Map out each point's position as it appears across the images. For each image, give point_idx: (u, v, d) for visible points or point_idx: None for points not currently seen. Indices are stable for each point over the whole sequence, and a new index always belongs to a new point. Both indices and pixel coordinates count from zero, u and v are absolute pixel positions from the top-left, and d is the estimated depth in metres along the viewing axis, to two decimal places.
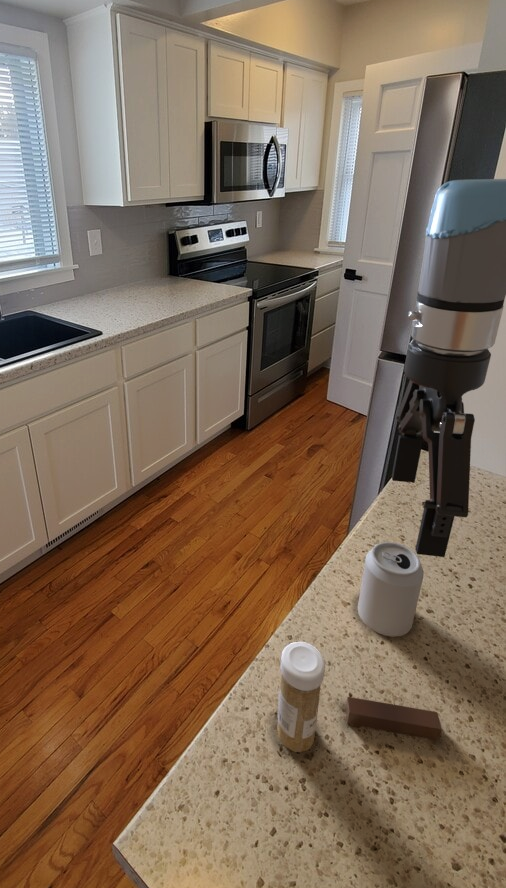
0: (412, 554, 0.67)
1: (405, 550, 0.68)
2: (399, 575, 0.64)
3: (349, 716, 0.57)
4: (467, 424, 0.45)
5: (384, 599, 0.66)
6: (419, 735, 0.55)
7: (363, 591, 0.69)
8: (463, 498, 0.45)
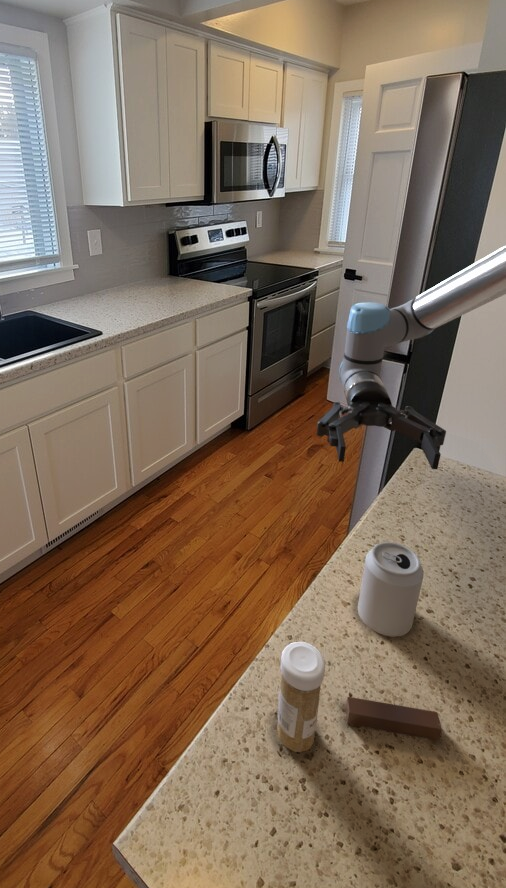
0: (412, 554, 0.67)
1: (405, 550, 0.68)
2: (399, 575, 0.64)
3: (349, 716, 0.57)
4: (333, 405, 0.89)
5: (384, 599, 0.66)
6: (419, 735, 0.55)
7: (363, 591, 0.69)
8: None
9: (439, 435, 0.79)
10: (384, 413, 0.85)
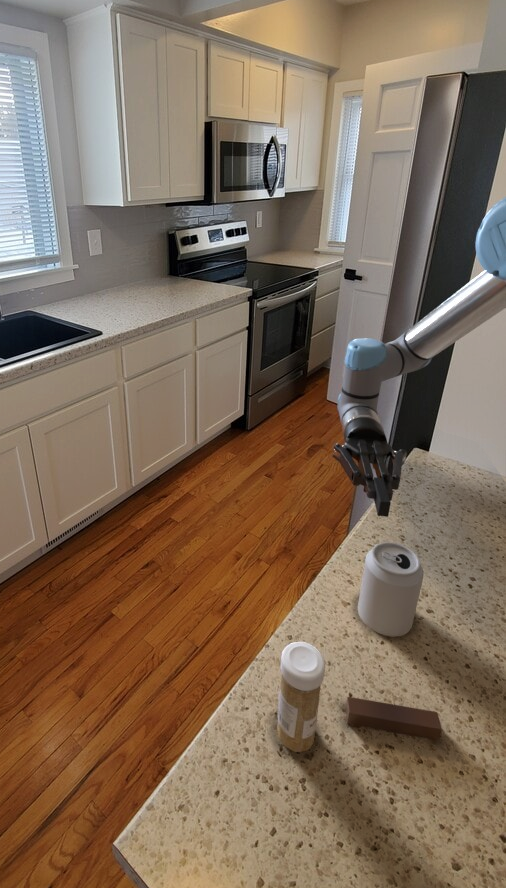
0: (412, 554, 0.67)
1: (405, 550, 0.68)
2: (399, 575, 0.64)
3: (349, 716, 0.57)
4: (335, 449, 0.89)
5: (384, 599, 0.66)
6: (419, 735, 0.55)
7: (363, 591, 0.69)
8: (351, 470, 0.83)
9: (393, 480, 0.80)
10: None
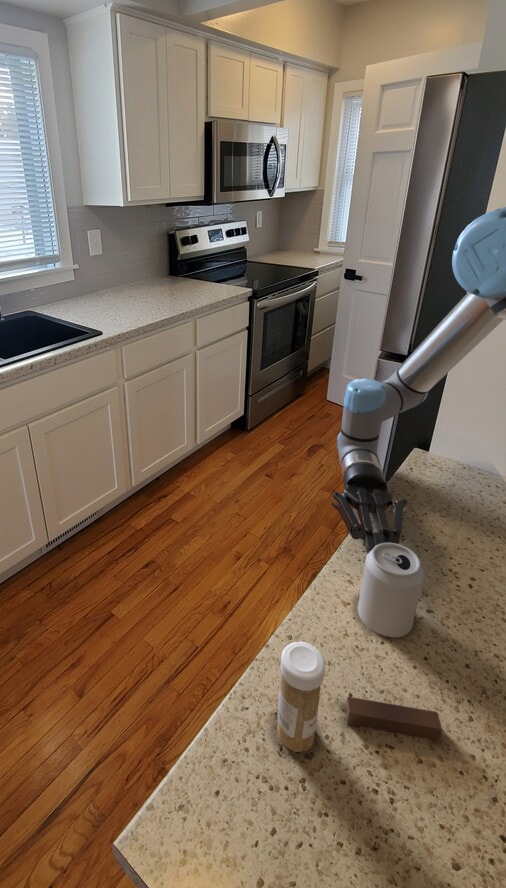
0: (412, 555, 0.67)
1: (405, 551, 0.68)
2: (399, 575, 0.64)
3: (349, 716, 0.57)
4: (334, 497, 0.87)
5: (384, 600, 0.65)
6: (419, 735, 0.55)
7: (363, 592, 0.69)
8: (350, 522, 0.81)
9: (394, 535, 0.78)
10: None
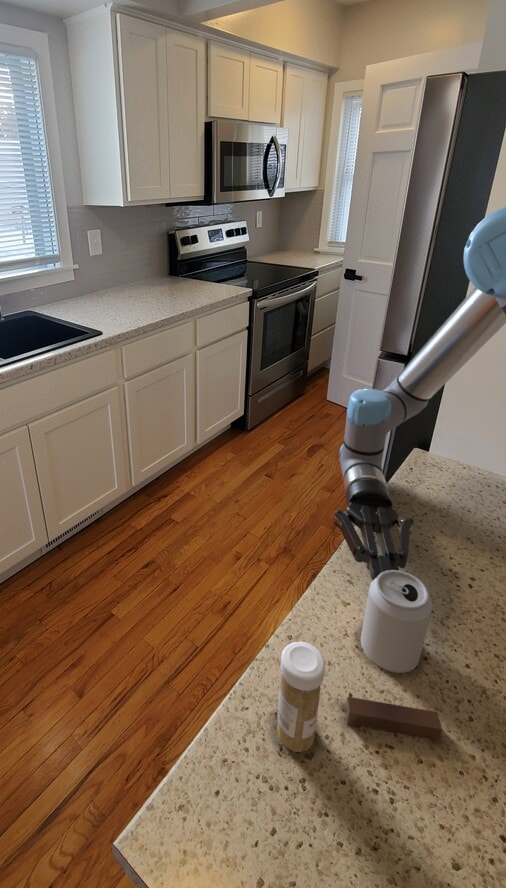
0: (420, 585, 0.62)
1: (413, 580, 0.63)
2: (405, 608, 0.59)
3: (349, 716, 0.57)
4: (336, 516, 0.82)
5: (389, 633, 0.61)
6: (419, 735, 0.55)
7: (366, 622, 0.64)
8: (353, 544, 0.76)
9: (400, 558, 0.73)
10: None
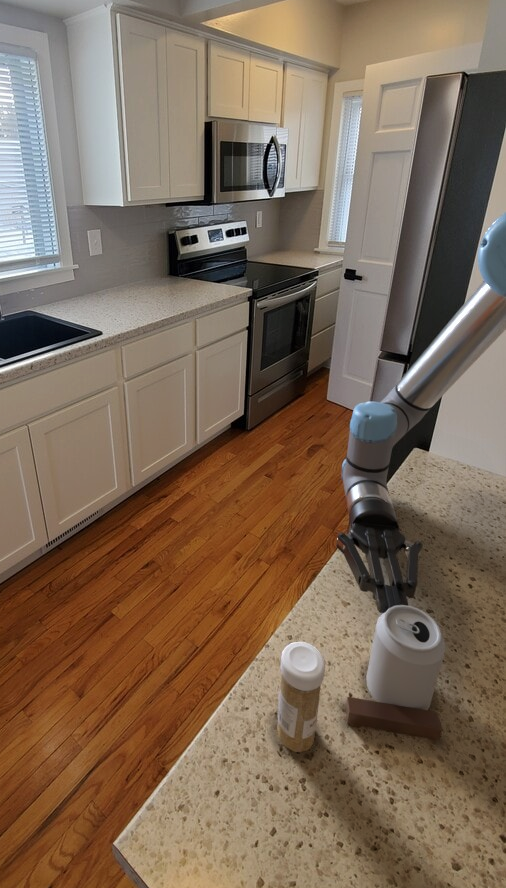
0: (432, 623, 0.57)
1: (423, 617, 0.58)
2: (415, 650, 0.54)
3: (349, 716, 0.57)
4: (339, 539, 0.77)
5: (398, 676, 0.56)
6: (419, 735, 0.55)
7: (373, 662, 0.59)
8: (358, 572, 0.71)
9: (409, 588, 0.68)
10: None
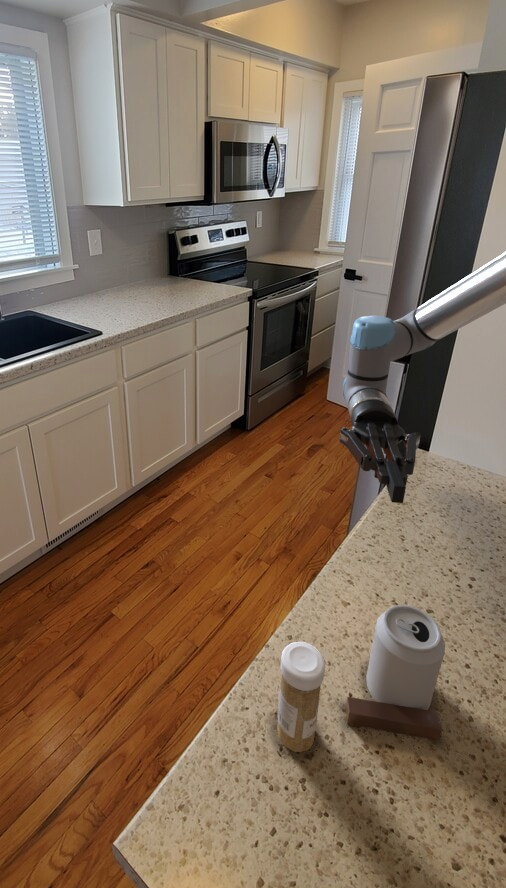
0: (432, 622, 0.57)
1: (423, 617, 0.58)
2: (415, 650, 0.54)
3: (349, 716, 0.57)
4: (342, 433, 0.82)
5: (398, 676, 0.56)
6: (419, 735, 0.55)
7: (373, 662, 0.59)
8: (360, 454, 0.76)
9: (408, 464, 0.73)
10: None
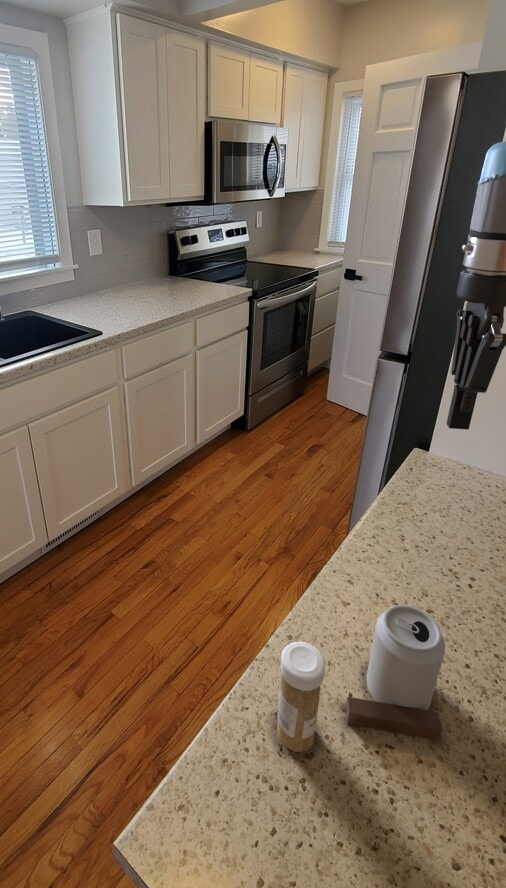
0: (432, 622, 0.57)
1: (423, 617, 0.58)
2: (415, 650, 0.54)
3: (349, 716, 0.57)
4: (502, 342, 0.62)
5: (398, 676, 0.56)
6: (419, 735, 0.55)
7: (373, 662, 0.59)
8: (485, 383, 0.67)
9: None
10: None
